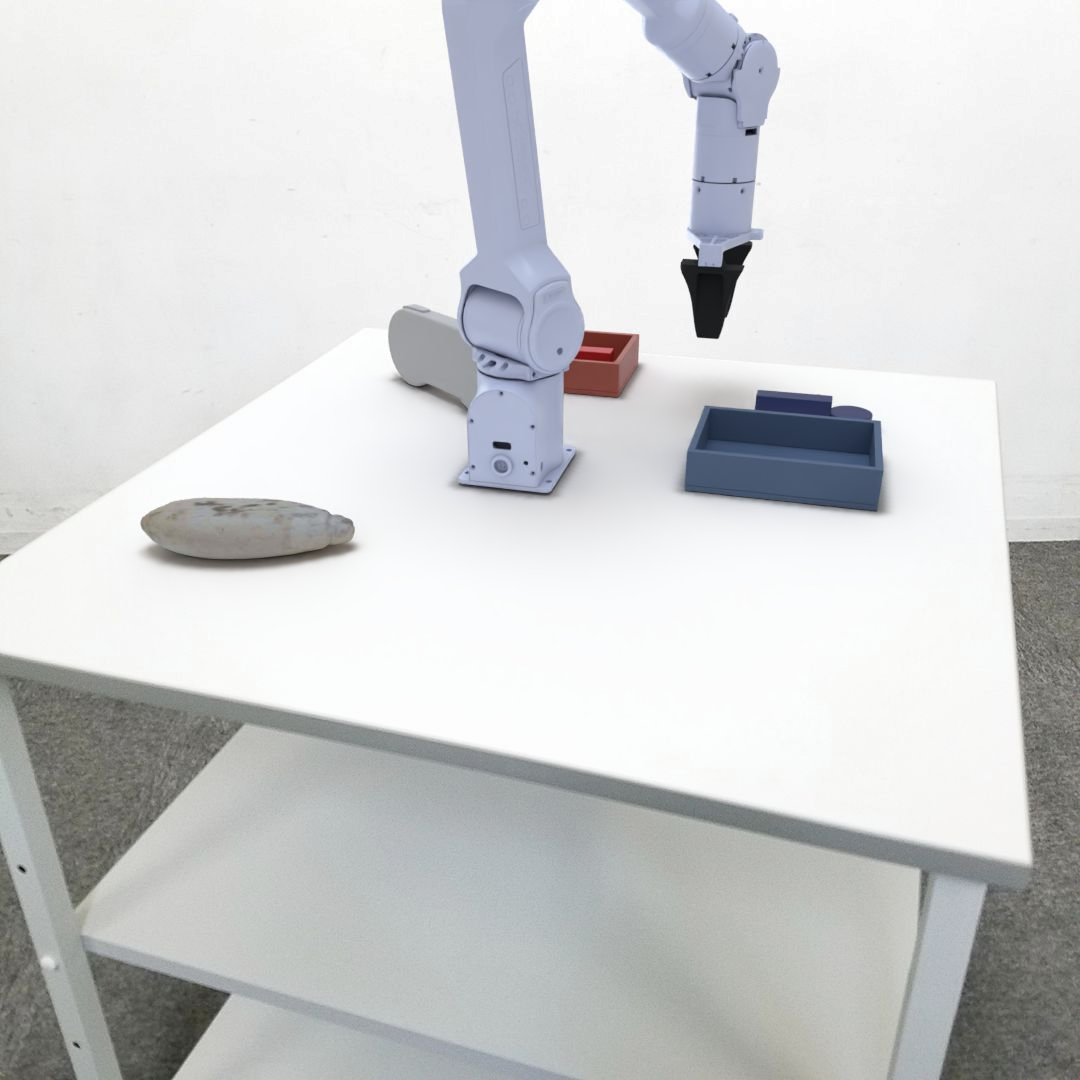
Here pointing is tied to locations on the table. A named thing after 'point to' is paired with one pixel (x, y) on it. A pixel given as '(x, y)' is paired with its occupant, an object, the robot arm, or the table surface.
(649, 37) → the robot arm
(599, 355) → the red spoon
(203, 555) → the decorative stone
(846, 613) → the table surface
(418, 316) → the game controller
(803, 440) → the blue bin
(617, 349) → the red bin
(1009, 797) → the table surface
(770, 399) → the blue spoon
